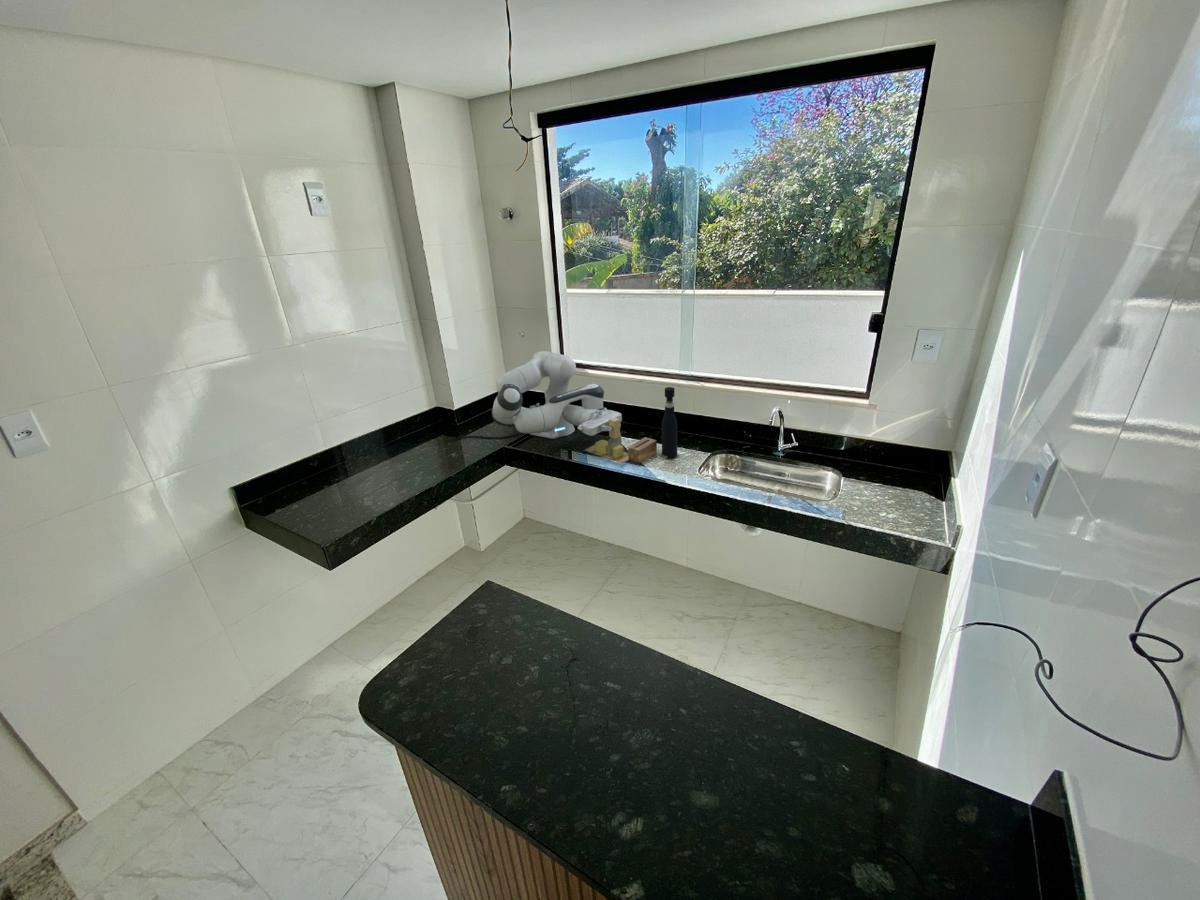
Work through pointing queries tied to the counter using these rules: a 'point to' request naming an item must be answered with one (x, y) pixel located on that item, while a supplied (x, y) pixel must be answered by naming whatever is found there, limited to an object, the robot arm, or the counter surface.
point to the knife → (614, 434)
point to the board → (619, 459)
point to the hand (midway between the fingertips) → (616, 427)
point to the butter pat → (617, 451)
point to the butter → (602, 446)
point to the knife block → (642, 450)
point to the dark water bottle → (669, 427)
